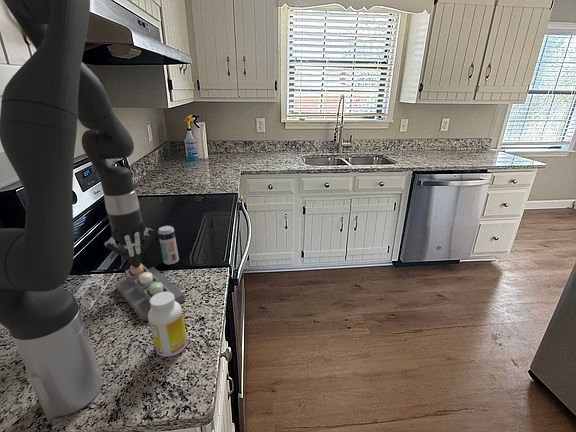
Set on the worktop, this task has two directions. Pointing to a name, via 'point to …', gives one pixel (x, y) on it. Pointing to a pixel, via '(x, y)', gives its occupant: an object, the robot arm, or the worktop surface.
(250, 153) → the worktop surface
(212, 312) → the worktop surface
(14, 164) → the robot arm
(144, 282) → the cream button
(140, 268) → the terracotta button
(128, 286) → the grey boxy piece
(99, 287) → the worktop surface
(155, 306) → the supplement bottle
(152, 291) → the sage button
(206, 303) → the worktop surface
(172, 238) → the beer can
